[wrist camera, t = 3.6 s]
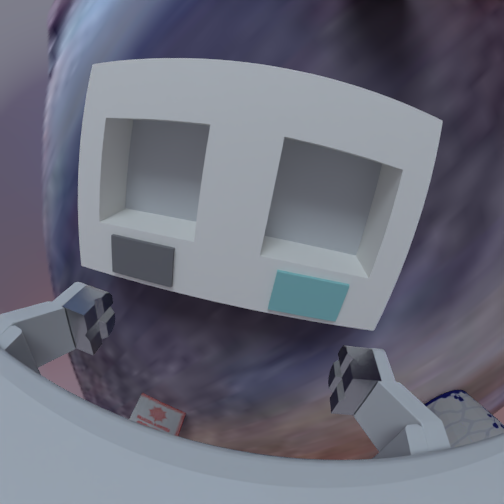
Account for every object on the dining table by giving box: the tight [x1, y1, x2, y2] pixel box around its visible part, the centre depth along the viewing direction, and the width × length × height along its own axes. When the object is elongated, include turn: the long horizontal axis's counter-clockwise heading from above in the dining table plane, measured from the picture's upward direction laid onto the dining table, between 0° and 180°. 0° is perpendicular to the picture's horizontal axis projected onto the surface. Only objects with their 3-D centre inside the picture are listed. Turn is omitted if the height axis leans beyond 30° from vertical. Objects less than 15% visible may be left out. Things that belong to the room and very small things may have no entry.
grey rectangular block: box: [129, 393, 186, 436], centre depth 30 cm, size 4×7×10 cm, turn 64°
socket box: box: [78, 58, 443, 331], centre depth 19 cm, size 24×16×5 cm, turn 80°
